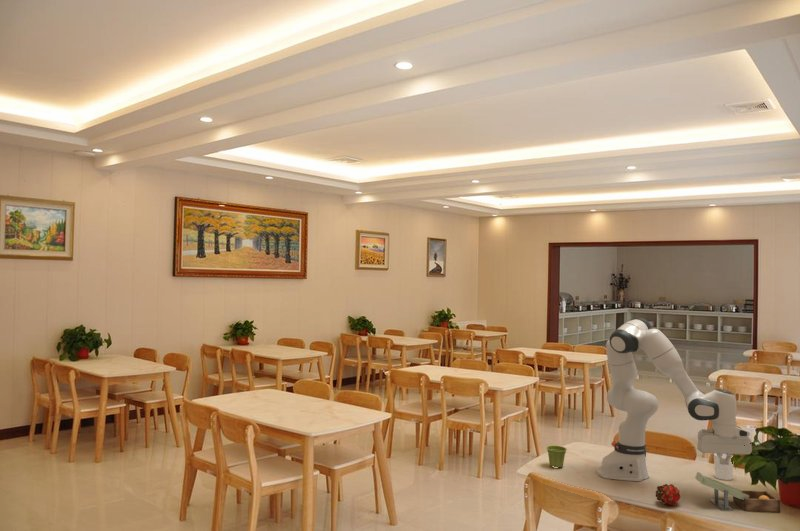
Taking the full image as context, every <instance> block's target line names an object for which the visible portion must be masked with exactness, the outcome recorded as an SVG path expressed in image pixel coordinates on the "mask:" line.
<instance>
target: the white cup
mask: <svg viewBox="0 0 800 531" xmlns="http://www.w3.org/2000/svg"><path fill="white" fill-rule="evenodd" d="M733 456H734V455H732V457H733ZM721 457H722V459H726V457H727V455H726V454H723V455H722V456H721ZM732 457H731V458H732ZM713 465H714V476H715V477H714V478H716V479H719V480H722V481H732V480H733V476H734V463H733V464H732V462H731V459H730V460H729V465H721V464H720V459H719V458H718V456H717V453H713Z"/></svg>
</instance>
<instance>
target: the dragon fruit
mask: <svg viewBox="0 0 800 531" xmlns="http://www.w3.org/2000/svg"><path fill="white" fill-rule="evenodd" d="M656 487H657V488H656V491H655V497H656V500H657V501H659V502H661V504H662V505H664V506H666V507H667V506H668V505H670V506H676V505H677V503H678V502H679V500H680V499H681V496H682V495H681V494H680V490H679V488H678V487H677V486H675V485H674V484H673V483H670V484H667V483H664V484H663V485H658V486H656Z"/></svg>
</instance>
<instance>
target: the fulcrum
mask: <svg viewBox="0 0 800 531" xmlns="http://www.w3.org/2000/svg"><path fill="white" fill-rule="evenodd" d="M713 491H714V495H713V496H714V498H709V501H710V502H711V503H712V504H713V505H715V507H716V508H718V509H719V510H720V511H728V512H729V511H731V512H732V511H734V509H733V508H732V507H731V506H730V505H729V494H728V491H727V490H724V492H723V500H722V499H720V498H719V490H716V489H714V488H713Z"/></svg>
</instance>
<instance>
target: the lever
mask: <svg viewBox="0 0 800 531" xmlns="http://www.w3.org/2000/svg"><path fill="white" fill-rule="evenodd" d="M694 478H695V479H696V481H697V482H699V483H700V484H701V485H703V486H707V487H709V488H711V489H713V490H714V489H716V490H718V492H721V493H724V490H727V491H728V496H731V497H733V496H734V497H737V498H739V499H742V500H744V498H746V499H749V495H746V494H744V493H742V489H740V488H737V487H734V486H731V485H729V484H726V483H724V482H721V481H719V480H717V479H713V478H712V477H709V476H706V475H703V474H702V473H701V472H699V471H697V473H696V475H695V477H694Z"/></svg>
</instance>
